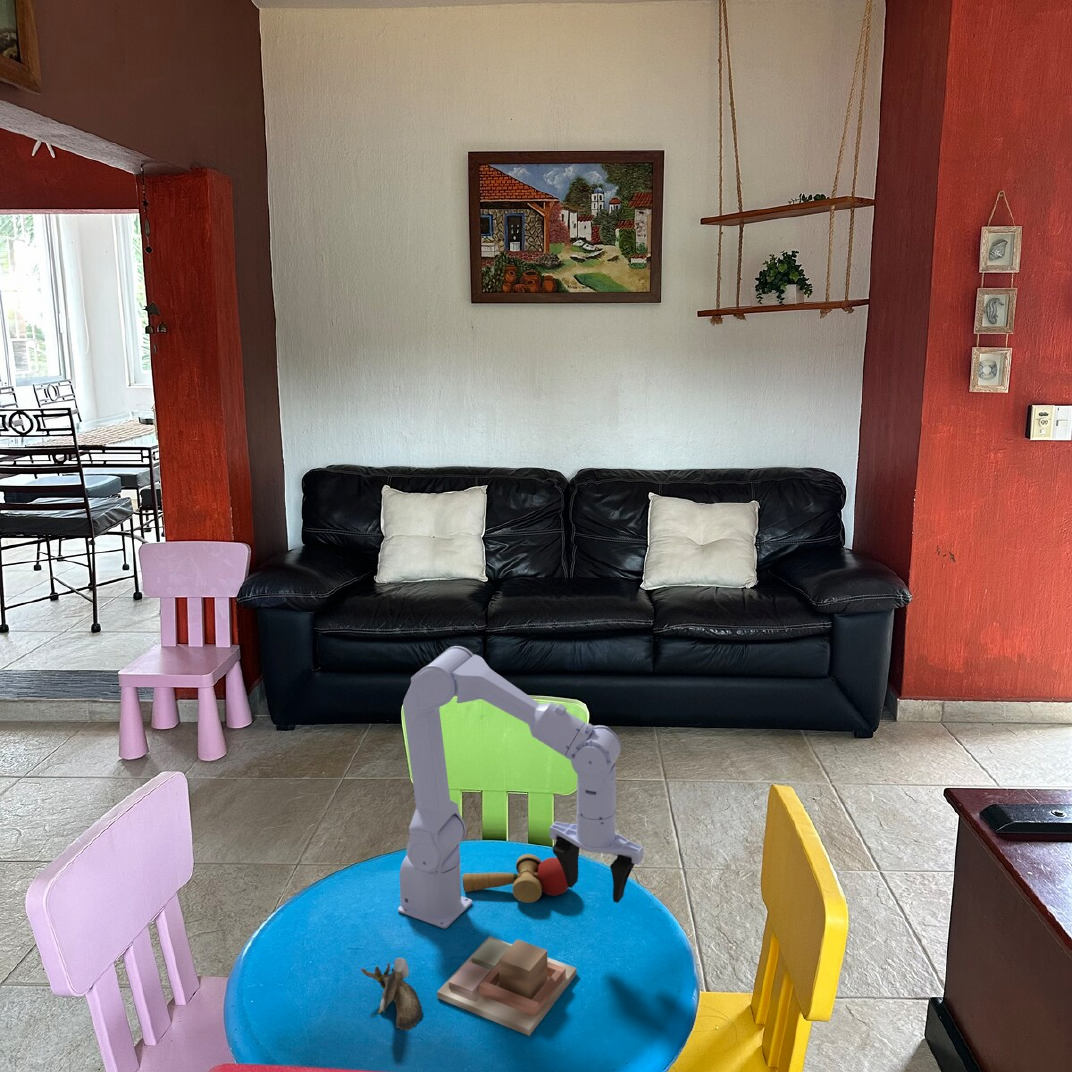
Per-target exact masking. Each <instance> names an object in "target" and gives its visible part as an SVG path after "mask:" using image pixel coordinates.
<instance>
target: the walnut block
mask: <svg viewBox="0 0 1072 1072" xmlns="http://www.w3.org/2000/svg"><path fill="white" fill-rule="evenodd" d="M511 944H512V946H511V947H510V948H509V949H508V950H507V951H506V952H505V953H504V954H503V955H502V956H501V958H500V959H499V987H500V988H503V989H505V990H508V991H510V992H513V993H515V994H518V995H520V996H523V997H525V998H528V999H531V1000H532V999H533V998H534V996H535V995H536V994H537V993H538V992H539V990H540V989H541V988H542V987H543V985H544V984H545V983H546V982H547V981H548V980H547V957H548V949H544V948H543V947H542V948H541V947H539V946H537V945H534V944H531V943H530V942H529V943H528V942H527V941H524V940H521V939H515V941H514V942H513V943H511Z"/></svg>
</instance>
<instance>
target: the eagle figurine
mask: <svg viewBox="0 0 1072 1072" xmlns="http://www.w3.org/2000/svg"><path fill="white" fill-rule="evenodd" d="M393 964H394V966H393V967H392V968H390V967H391V964H390V962H387V964H386V965H387V967H386V969H385V971H384V972H383V974H382V971H381V970H380V967H379V965H377V966H375V968H374V972H370V971H368V970H367V969H365V968H360V971H361V973H363V974H364V975H365V976H366V977H368V978H372V979H373V980H375V981H377V982H378V983H379V984H380V986H381V988H382V989H383V992H382V995H381V997H382V998H381V1001H380V1005H379V1010H378V1011H377V1013H378V1014H381V1013H382V1012H383V1013H385V1012H386V1009H387V1008H388V1006H389V1005H390V1003H392V1001H393V1002H394V1004H395V1007H396V1020H395V1021H396V1023H395V1025H396V1028H397V1029H399V1030H401V1031H403V1030H404V1031H406V1032H407V1031H411V1030H412V1029H413V1028H415V1027H416V1026H417V1023H419V1022H420V1019H422V1015H423V1014H422V1012H423V1008H422V1007H423V1006H422V1004H421V1001H420V998H419V996H418V994H417V993H418V992H416V990H415V989H414V988H413V986H411V985H410V984H409V983H408V982H406V981H405V980H404V979H405V978H407V977H409V974H410V970H409V966H408V963H407V961H406V959H405V958H403V957H397V958H395V960H394V963H393ZM390 971H391V973H390Z"/></svg>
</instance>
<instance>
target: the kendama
mask: <svg viewBox="0 0 1072 1072" xmlns="http://www.w3.org/2000/svg"><path fill="white" fill-rule="evenodd" d="M515 870H516V872H517V873H515V872H514V873H513V872H481V873H478V872H476V873H475V872H473V873H468V872H467V873H466V872H465V873H463V874H462V888H463V891H464V893H468V892H474V891H481V890H487V889H494V888H499V887H505V886H509V885H512V895H513V897H514V898H515V899H516V900H517V901H519V902H522V903H534V902H536V901H538V900H539V899H540V897H541V896H542V893H544V894H546V895H547V896H560V895H561V894H564V893H565V892H567V891H568V889H569V887H568V886H567V882H566V878H565V875H564V871H563V869H562V866H561V864H560V862H559V860H558V859H557V857H556V856H555V857H554V856H553V857H548V858H546V859H544V860H541V859H540V857H538V856H537V855H534V854H530V853H525V854H522V855H521V856H519V857H518V858H517V860H516V864H515Z"/></svg>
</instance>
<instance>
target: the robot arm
mask: <svg viewBox="0 0 1072 1072" xmlns="http://www.w3.org/2000/svg"><path fill="white" fill-rule="evenodd" d="M407 689H408V690H407V692H406V694H405V696H404V699H403V703H402V707H403V716H404V717H403V718H404V723H405V724H404V725H405V732H406V739H407V746H408V747H407V748H408V756H409V761H410V762H409V763H410V770H411V778H412V785H413V786H412V787H413V792H414V801H415V803H414V804H415V810H414V814H413V816H412V819H411V822H410V824H409V828H408V831H409V832H408V833H409V839H408V841H407V844H406V855H405V857H404V859H403V860H402V863H401V866H400V869H399V893H400V895H399V896H400V898H399V899H400V906H398V908H397V911H398V912H399V913H400V914H404V915H406V916H409V917H412V918H414V919H417V920H421V921H422V922H425V923H428V924H431V925H434V926H435V927H438V928H442V929H447V928H448V927H450V925H451V924H452V923H454V921H455V920H456V919H458V918H459V917H460V916H461V914H462V913H464V912H465V910H467V909H468V908H469V907H470V906H471V905H472V904H473V900H472V899H471V898H468V897H465V896H462V880H461V879H462V878H461V854H460V843H461V842H463V840H464V839H465V837H466V834H467V826H466V823H465V821H464V818H463V817H462V815H461V814H460V810H459V804H458V803H457V802H455V801H454V800H451V797H450V789H449V780H448V779H449V778H448V772H447V770H448V769H447V763H446V754H445V747H444V739H443V731H442V722H441V721H442V720H441V711H440V708H441V707H443V706H446V705H447V704H448V703H450V702H451V701H452V700H453V698H454V697H455V696H456V697H457V698H456V704H463V703H467V702H472V701H477V700H482V701H484V702H485V703H488V704H490V705H491V706H493V707H495V708H497V709H499V710H501V711H503V712H504V713H506V714H507V715H510V716H512V717H514V718H516V719H517V720H520V721H521V722H523V723H525V724H527V726H528V728H529V731H530V734H531V736H532V737H533V738H534V739H535V740H538V741H539V742H541V743H543V744H544V745H546V746H548V748H550V749H552V750H553V751H555V752H556V753H558V754H560V755H561V756H563V757H564V758H566V759H568V760H569V761H570V764H571V767H572V769H573V771H574V772H575V773H576V774H577V777H576V778H577V779H576V823H566V822H560V821H557V820H556V821H554V822H553V824H552V825H550V826H549V839H550V840H554V841H555V840H556V841H555V844H554V845H553V846H552V853H553V854H554V856H555V858H557V859H558V860H559V862H560V864H561V866H562V869H563V871H564V875H565V878H566V882H567V886H568V888H570V889H573V887H574V886H575V885H576V883H577V882H578V879H579V856H580V855H579V854H580V849H581V850H583V851H585V852H588V853H596V854H606V855H613V856H616V858H615V859H614V860H613V862H611V864H610V867H609V868H610V871H611V877H612V884H613V885H612V886H613V887H612V900H613V903H617V904H618V903H619V902H620V901H621V900H622V898H623V897H624V894H625V890H626V889H625V888H626V887H627V886H626V885H627V882H628V879H629V877H630V874H631V872H632V870H633V868H634V866H635V865H637V866H638V865H639V864H640V863H641V862H642V861H643V859H644V846H643V845H640V844H637V843H634V842H632V840H629V839H627V838H626V837H624V836H622V835H621V834H619V833H618V832H616V810H617V809H616V808H617V807H616V805H617V778H616V777H617V776H616V774H617V773H616V771H617V767H616V761H617V759H618V758H619V756H620V754H621V749H622V745H621V739H620V738H619V736H618V735H617V734H616V732H614V731H613V730H611V728H610V727H608V726H606V725H602V724H601V725H600V724H599V725H593V724H592V723H589V722H588V723H587V722H585V721H584V720H581V719H580V718H578V717H576V716H575V715H574V714H572V713H570V712H569V711H567V709H568V708H567V707H566V706H565V705H563V704H562V703H558V705H557V704H555V703H554V702H547V703H540V702H538V701H537V700H536V699H534V698H532V697H531V696H529V694H527V693H525V692H524V691H522V689H520V688H518V687H517V686H515V685H514V684H512V683H511V682H510V681H508V680H507V679H506V678H504V677H503V676H502V675H500V674H498V673H497V672H495V671H494V670H493V669H491V668H490V667H489V665H488V664H487V663H486V660H485V659H484V658H483V657H481V656H480V655H477V654H473V652H472V651H471V650H469V649H468V648H466V647H464V646H461V645H459V646H458V645H454V646H450V647H448V648H447V649H446V650H444V651H443V652H442V653H441V654H439V655H438V656H437V657H436V658H435V659H434V660H433V661H432V662H430V663H428V664H427V665H426V666H424V667H422V668H421V669H420V670H419V671H417V672H416V673H415V674H414V675H412V676H411V678H410V686H409V688H407Z"/></svg>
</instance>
